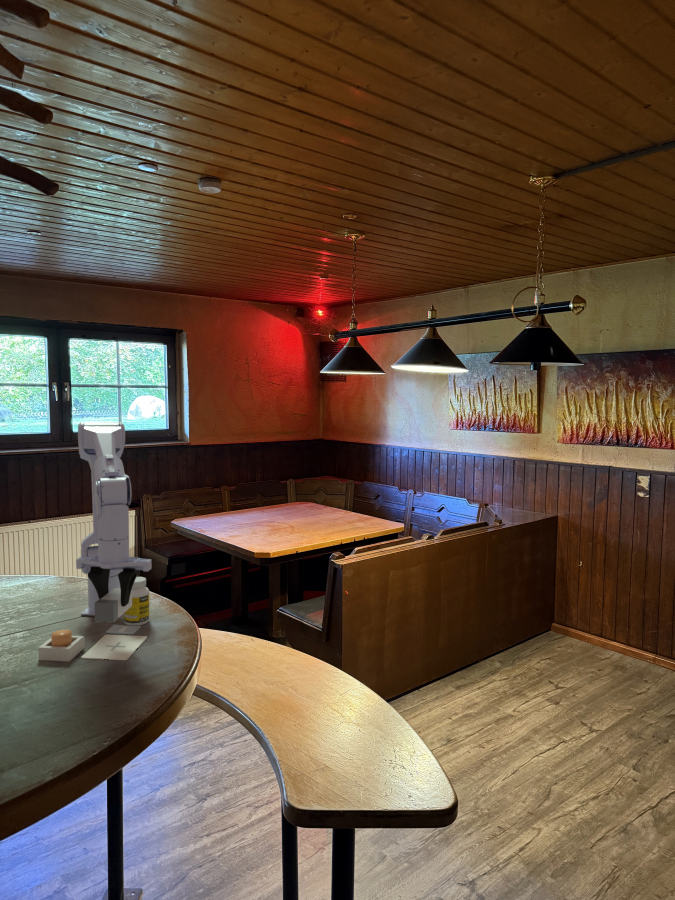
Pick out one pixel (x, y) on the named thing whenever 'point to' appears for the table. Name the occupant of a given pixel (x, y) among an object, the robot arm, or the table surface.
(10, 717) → the table surface
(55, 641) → the button
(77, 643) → the button box
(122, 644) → the paper sheet
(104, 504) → the robot arm
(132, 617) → the supplement bottle
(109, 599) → the grey rectangular prism
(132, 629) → the card
